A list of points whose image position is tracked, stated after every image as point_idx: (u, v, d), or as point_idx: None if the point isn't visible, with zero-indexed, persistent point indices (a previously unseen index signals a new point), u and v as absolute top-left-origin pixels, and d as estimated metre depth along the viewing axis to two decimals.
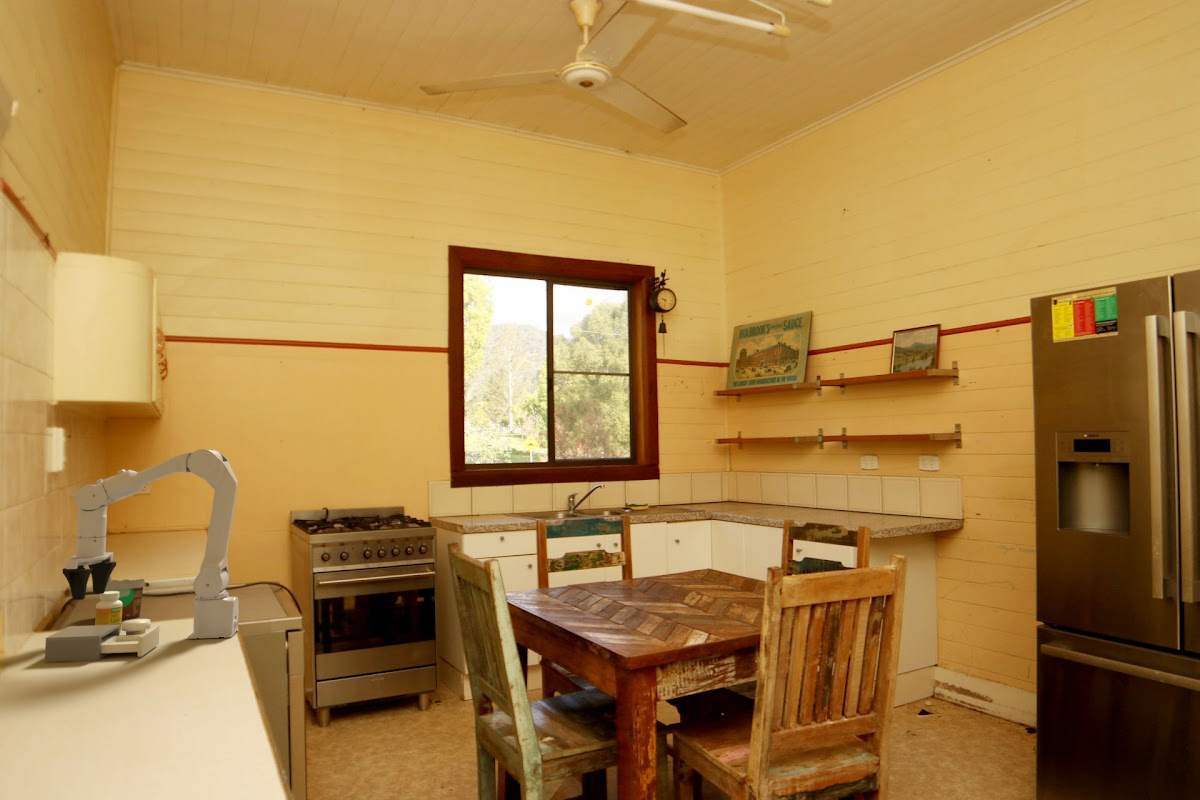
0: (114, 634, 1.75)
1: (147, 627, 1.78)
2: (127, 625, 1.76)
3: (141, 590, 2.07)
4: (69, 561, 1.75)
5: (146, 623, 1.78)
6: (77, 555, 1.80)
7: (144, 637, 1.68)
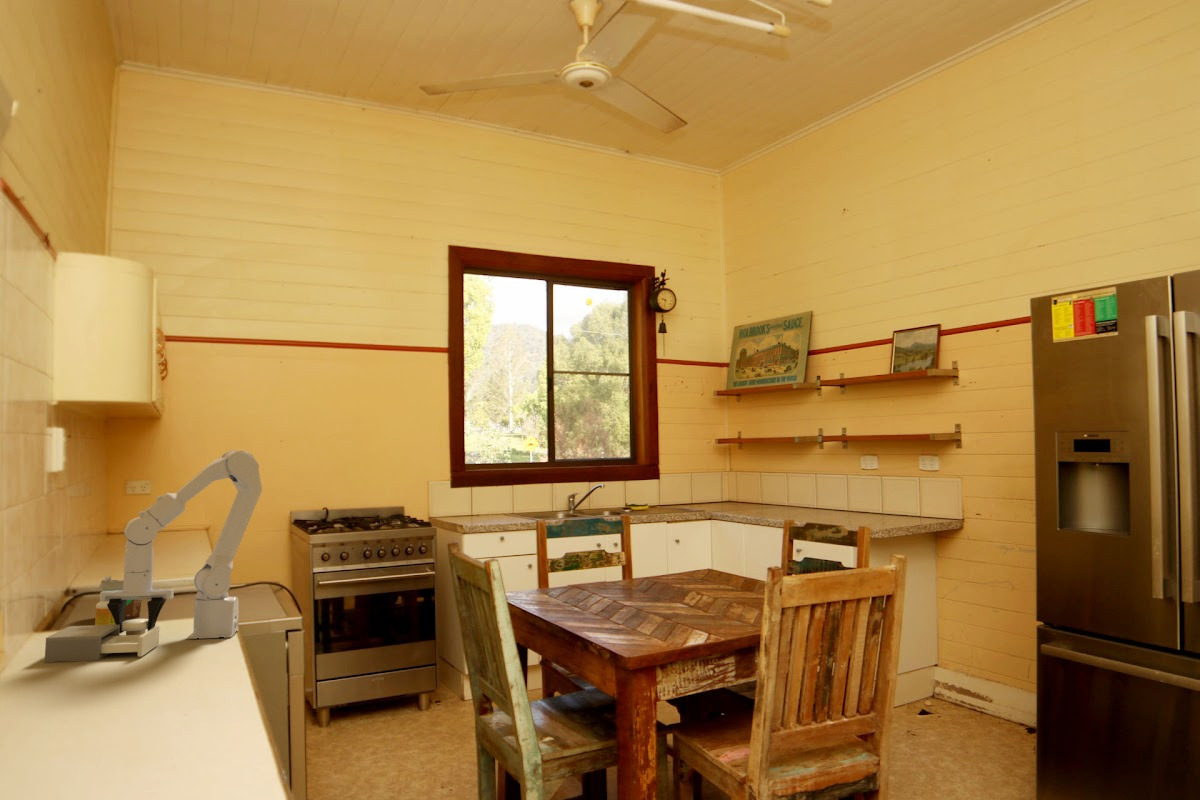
0: (114, 634, 1.75)
1: (147, 627, 1.78)
2: (127, 625, 1.76)
3: None
4: None
5: (146, 623, 1.78)
6: None
7: (144, 637, 1.68)
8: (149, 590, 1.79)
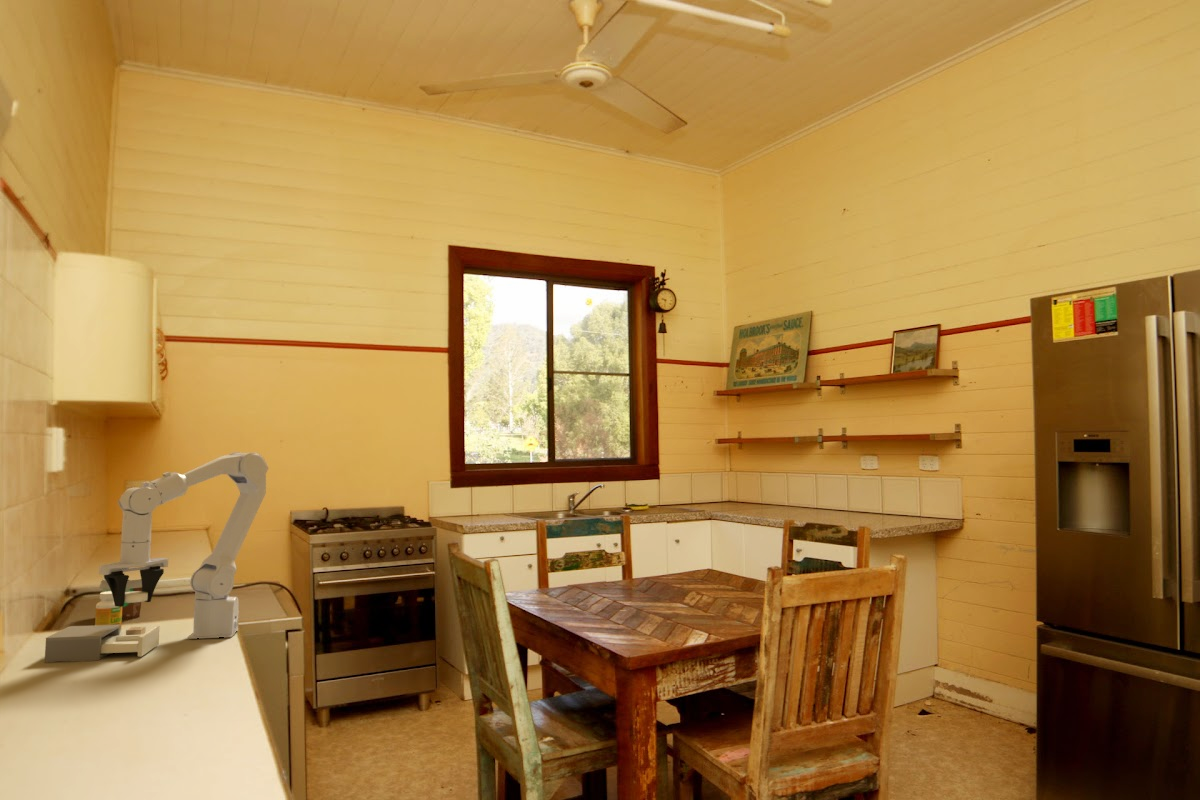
0: (114, 634, 1.75)
1: None
2: (136, 596, 1.73)
3: (141, 590, 2.07)
4: (101, 566, 1.69)
5: (147, 593, 1.77)
6: (120, 560, 1.74)
7: (144, 637, 1.68)
8: None
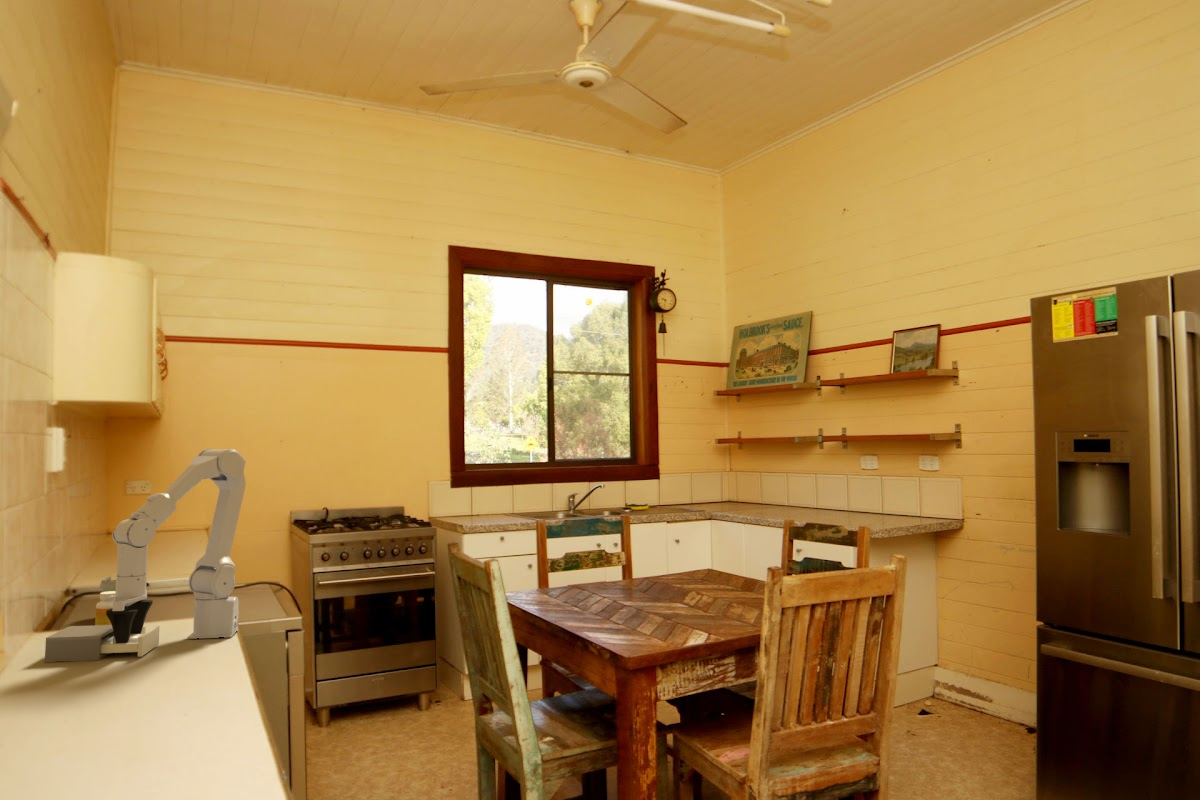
0: None
1: None
2: None
3: None
4: (116, 602, 1.65)
5: None
6: (118, 595, 1.69)
7: (144, 637, 1.68)
8: None
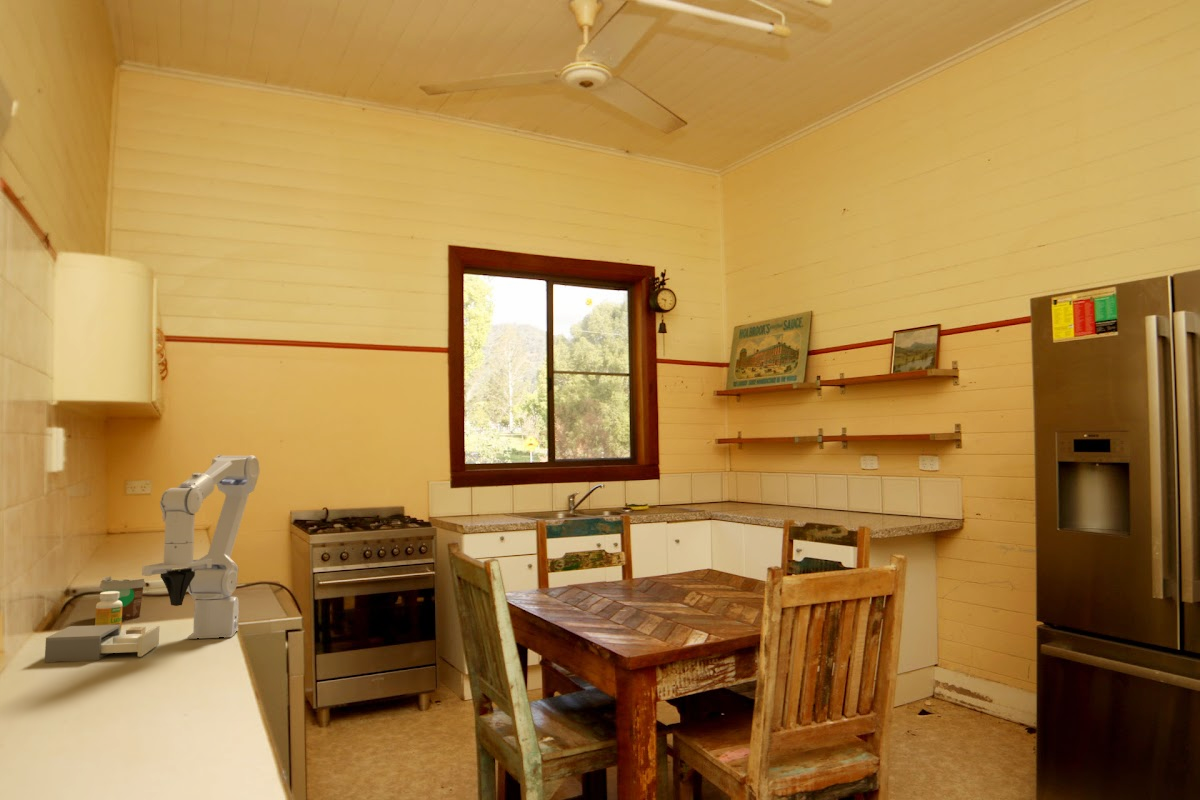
0: (114, 634, 1.75)
1: None
2: None
3: (141, 590, 2.07)
4: (144, 567, 1.68)
5: None
6: None
7: (144, 637, 1.68)
8: None
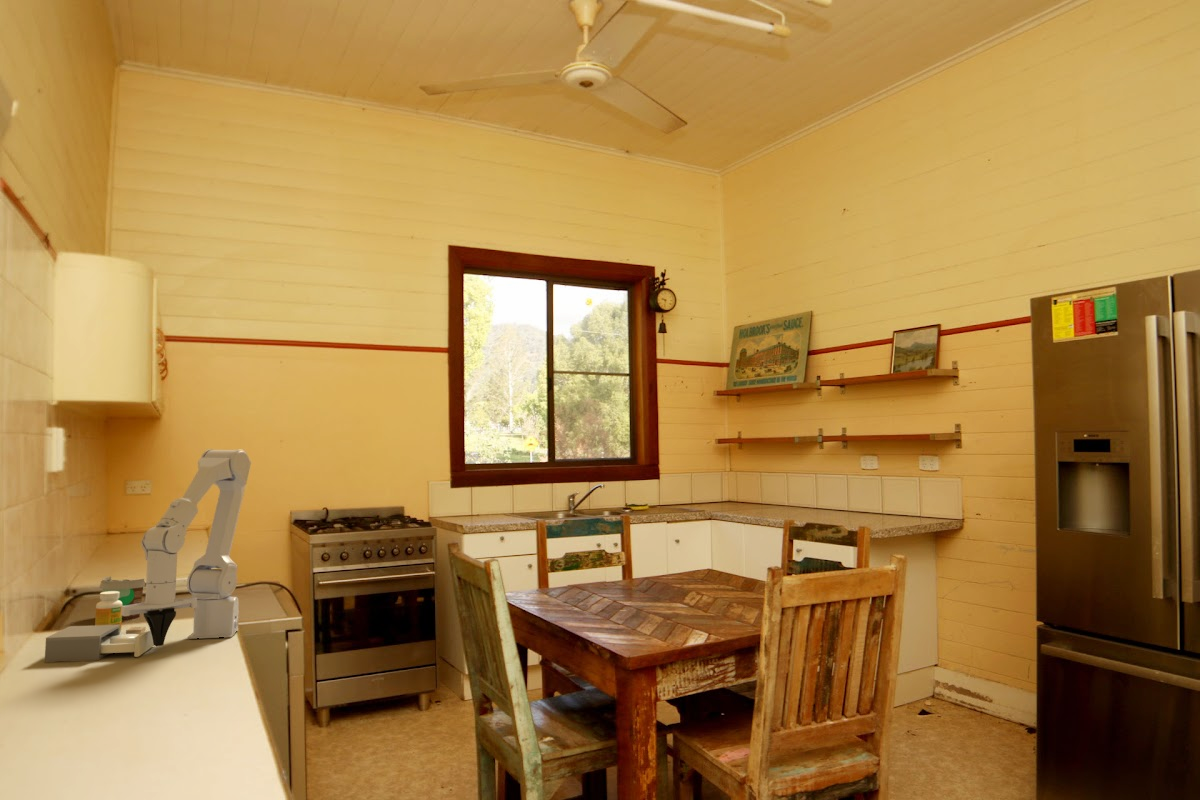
0: (114, 634, 1.75)
1: None
2: None
3: (141, 590, 2.07)
4: (122, 607, 1.68)
5: None
6: None
7: (141, 637, 1.68)
8: (175, 600, 1.74)
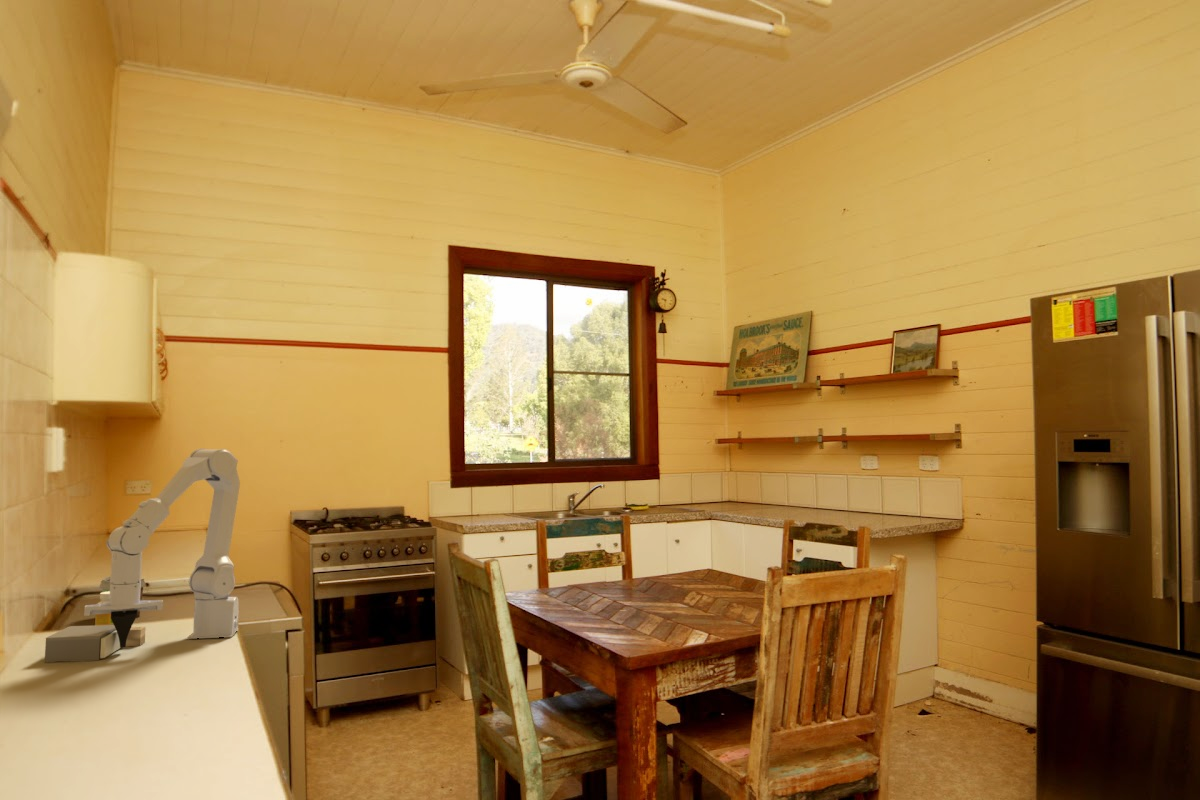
0: None
1: None
2: None
3: (141, 590, 2.07)
4: (85, 607, 1.68)
5: None
6: None
7: (107, 638, 1.66)
8: (139, 602, 1.72)
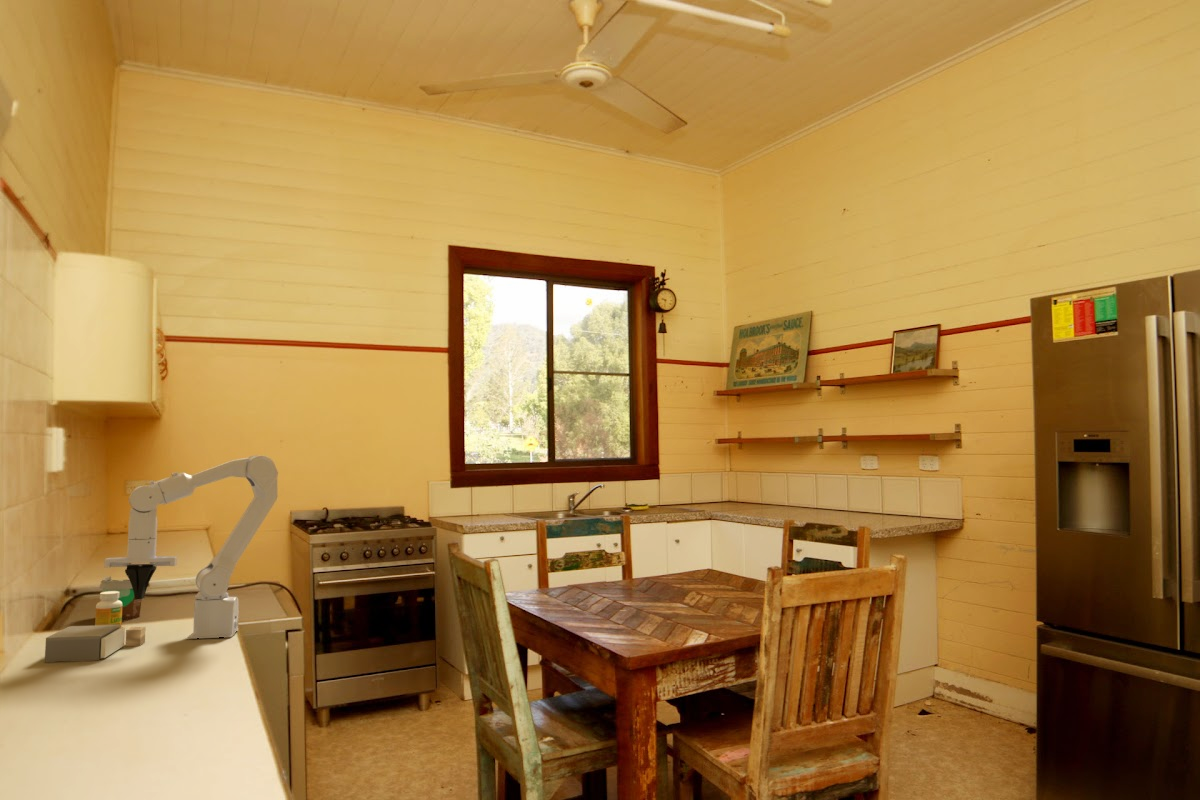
0: None
1: None
2: None
3: None
4: None
5: None
6: None
7: (107, 638, 1.66)
8: (153, 557, 1.81)
